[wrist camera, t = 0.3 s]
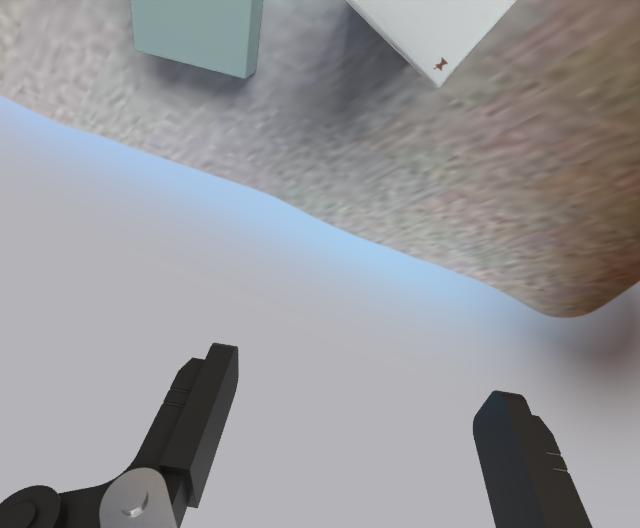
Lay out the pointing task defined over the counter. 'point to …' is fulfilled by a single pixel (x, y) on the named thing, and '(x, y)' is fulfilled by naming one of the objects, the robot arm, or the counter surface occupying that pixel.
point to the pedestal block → (200, 32)
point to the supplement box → (432, 30)
